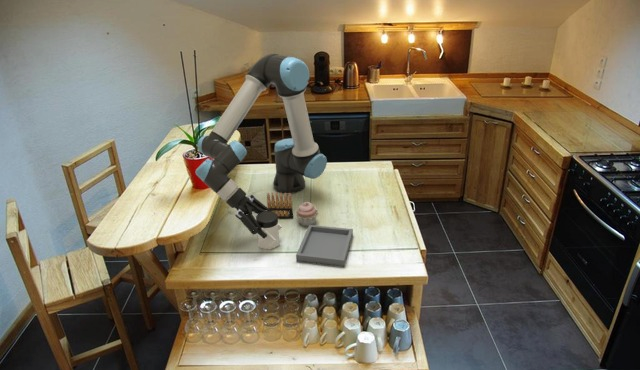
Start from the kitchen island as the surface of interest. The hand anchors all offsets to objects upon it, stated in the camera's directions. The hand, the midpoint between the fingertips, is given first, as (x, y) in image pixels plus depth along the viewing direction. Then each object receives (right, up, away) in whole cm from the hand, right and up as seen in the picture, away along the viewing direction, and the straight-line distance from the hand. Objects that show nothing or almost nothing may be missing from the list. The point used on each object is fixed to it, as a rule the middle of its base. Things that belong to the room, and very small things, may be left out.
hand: (276, 235), depth 173 cm
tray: (+19, -5, -1) cm, 19 cm away
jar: (-3, -4, +3) cm, 6 cm away
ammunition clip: (0, +5, +19) cm, 20 cm away
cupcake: (+11, +3, +15) cm, 19 cm away
